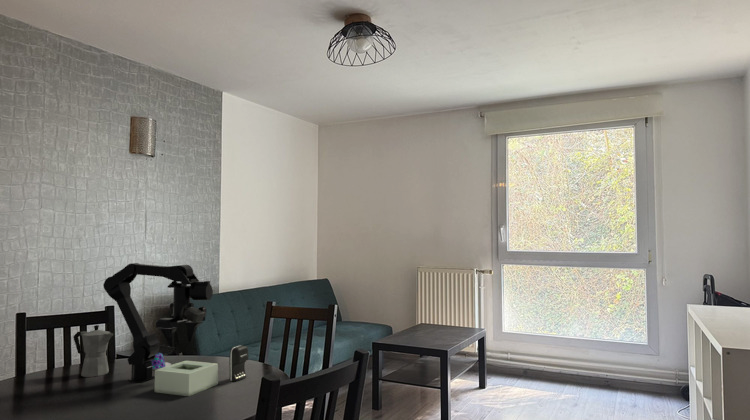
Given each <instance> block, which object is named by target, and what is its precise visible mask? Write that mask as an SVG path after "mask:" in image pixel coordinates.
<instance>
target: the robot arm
mask: <svg viewBox="0 0 750 420" xmlns="http://www.w3.org/2000/svg"><path fill="white" fill-rule="evenodd" d="M137 276H149V277H150V276H151V277H163V278H166V279H167V280H171V283H169V284H168V285H167V288H168V289H169V288H170V289H171V288H172V289H173V296H172V297H173V299H172V300H173V303H170V307H172V310H173V311H172V312H173V313H172V314H170V317H163V318H158V319H157V320H156V321H155V328H157V329H158V330H160V331H161V332H162V334H163V336H164V337H165V340H166V342H167V343H168V346H169V347H170V348H173V347H174V344H175V332H176V331H177V329H178V327H177V325H178V324H182V323H184V324H185V329H186V335H187V339H188V343H192V342H193V340H194V337H195V334H196V331H197V329H198V327H200V325H201V324H203V323H204V322H203V321H206V317H207V307H205V306H200V307H199V308H198V307H197V308H196V307H195V305H194V302H191V300H193V301H210V300H212V298H213V293H214V289H213V287H212V285H211V281H210V280H205V281H204V280H203V281H200V280H199V278H198V277H197V276H196V274H195V273H194V269H193V267H192V266H191V265H189V264H181V265H180V264H179V265H171V266H167V265H155V264H144V263H142V264H141V263H138V262H135V263H134V262H133V263H128V264H127V265H126V266H124V268H122V269H121V270H118V271H117V272H115V273H114V274H113V275H112V276H109V277H107V278H106V279H105V280H104V283H103V285H102V286H103V289H104V291H105V292H106V294H107V295H108V296H109V297H110V298H111V299H112V300H114V301H115V302H116V304H117V306H118V308H119V311H120V312H121V315H122V317H123V318H124V321H125V323H126V326H127V328H128V329H129V332H130V334H131V336H132V338H133V339H132V348H133V352H132V354H131V355H130V356H129V357H128V358H127V364H128V365H129V366H131V374H130V375H131V376H130V377H131V378H128V379H127V381H128V382H135V383H143V382H146V381H149V380H152V379H155V375H153V370H152V361H150V360H153V359H154V358H155V355H156V354H157V353H160V352H159V351H160V348H161V346H160V343H161V341H159V339H158V337H157V334H156V333H155V332H154V333H150V332H149V331H148V330H147V327H146V326H145V324H144V321H143V319H142V317H141V316H140V313H139V311H138V309H137V307H136V305H135V303H134V301H133V299H132V295H131V291H132V287H131V283H133V281H134V280H135V279H136V277H137Z"/></svg>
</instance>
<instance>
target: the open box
mask: <svg viewBox="0 0 750 420" xmlns="http://www.w3.org/2000/svg"><path fill="white" fill-rule="evenodd" d="M154 376H155V378H154V393H160V394H166V395H167V394H168V395H175V396H184V397H191V396H193V395H196V394H198V393H201V392H203V391H205V390H207V389H208V390H209V389H210V388H212V387H215V386H217V385H218V384H219V379H218V378H219V364H218V363H214V362H204V361H194V360H184V361H180V362H176V363H173V364H171V365H170V366H167V367H165V366H164V368H160V369H155V370H154Z"/></svg>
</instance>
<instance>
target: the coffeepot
mask: <svg viewBox="0 0 750 420" xmlns="http://www.w3.org/2000/svg"><path fill="white" fill-rule="evenodd" d="M99 327H100V325H98V324H96V325H94V326H93V329H94V330H91V331H81V330H80V331H77V332H76V333H75V334H74V335H73V342H74V344H75V347H76V351H77V353H78V354H80V355H81V354H82V355H83V354H84V353H85V356H84V360H83V364H82V369H81V373H80V376H81V377H84V378H95V377H94V376H96V377H100V376H104V375H108V374H109V371H110V370H109V369H110V368H109V363H108V357H107V355H106V353H107V351H108V346H109V341H110V339H111V338H112V337H113V336H114V333H113V332H111V331H106V330H102V329H100V330H99ZM79 337H81V338H82V344H83V350H82V349H81V347H82V346H81V343H80V338H79Z"/></svg>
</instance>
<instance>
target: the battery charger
mask: <svg viewBox="0 0 750 420" xmlns="http://www.w3.org/2000/svg"><path fill="white" fill-rule="evenodd" d="M247 361H249V349H248V347H247V346H246V345H237V346H233V347H232V348H230V351H229V381H231V382H239V381H241V380H243V379H246V378H247V372H246V370H245V369H246V368H245V367H246V366H245V363H246V362H247Z"/></svg>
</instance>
